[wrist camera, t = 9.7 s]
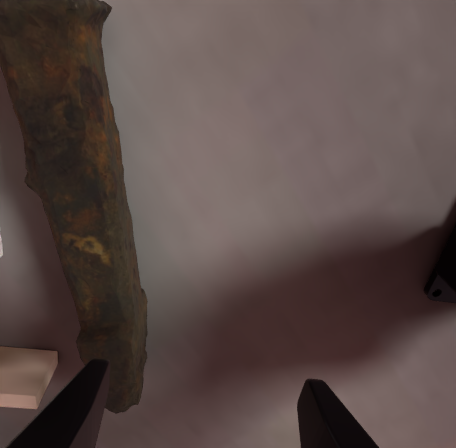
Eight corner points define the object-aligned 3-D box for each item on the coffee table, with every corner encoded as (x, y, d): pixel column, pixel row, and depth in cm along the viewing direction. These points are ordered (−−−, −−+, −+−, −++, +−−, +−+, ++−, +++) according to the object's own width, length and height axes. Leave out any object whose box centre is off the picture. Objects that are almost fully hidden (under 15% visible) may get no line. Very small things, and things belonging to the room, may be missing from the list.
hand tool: (7, -4, 14) (-81, -20, 10) (116, -3, 14) (75, -19, 10) (93, 361, 22) (67, 435, 18) (159, 359, 23) (148, 432, 18)
